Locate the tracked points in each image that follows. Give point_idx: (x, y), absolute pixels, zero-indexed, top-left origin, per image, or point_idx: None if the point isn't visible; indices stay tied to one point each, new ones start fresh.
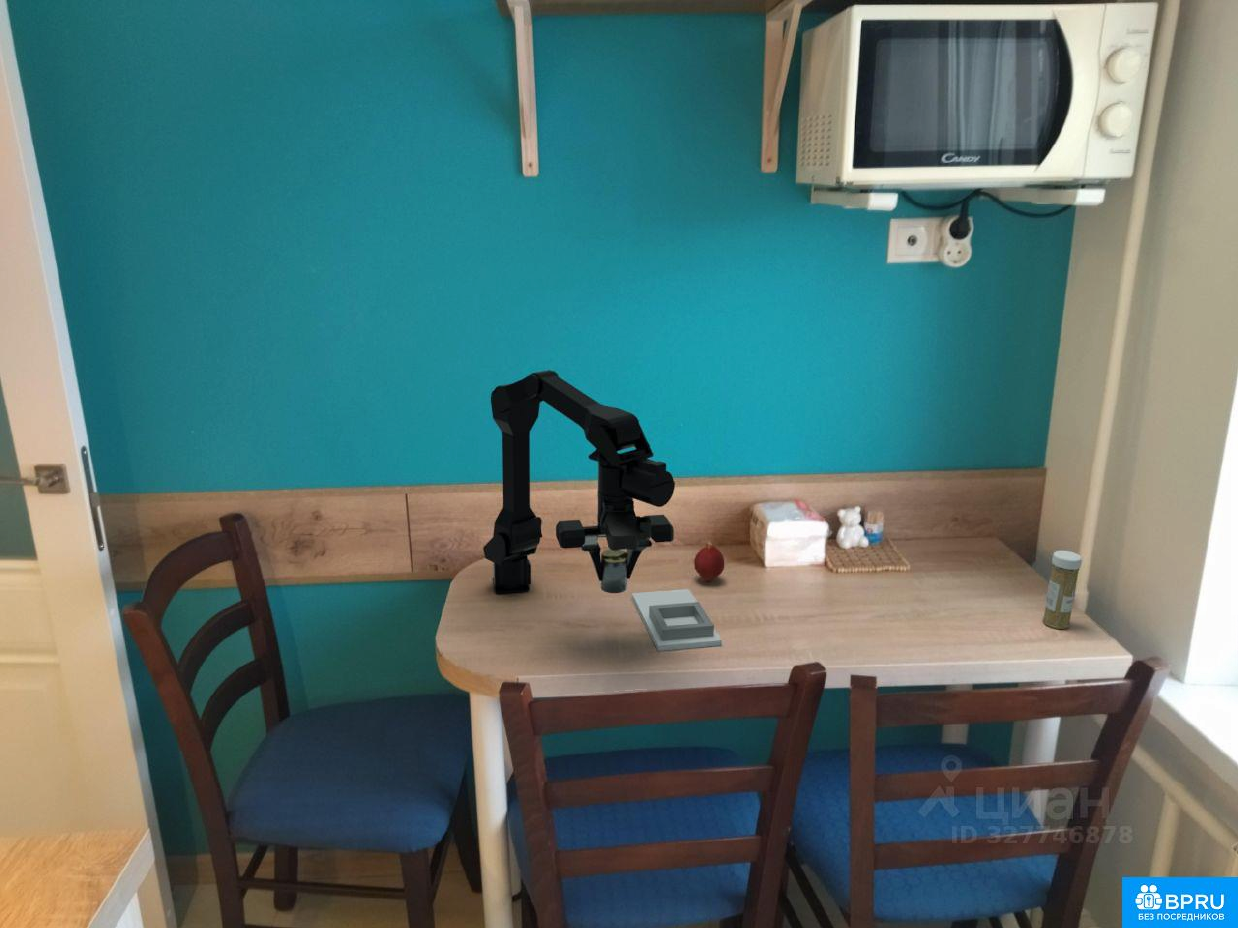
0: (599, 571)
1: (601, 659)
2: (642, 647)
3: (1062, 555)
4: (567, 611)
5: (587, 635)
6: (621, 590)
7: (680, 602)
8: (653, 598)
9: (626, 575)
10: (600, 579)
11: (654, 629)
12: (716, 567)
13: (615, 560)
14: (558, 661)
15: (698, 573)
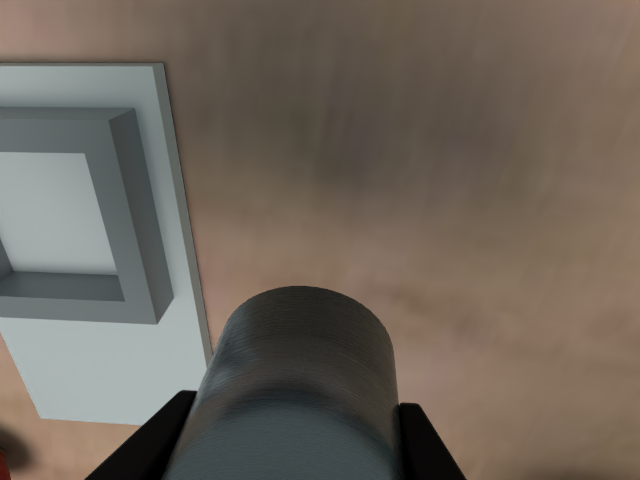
0: (437, 476)
1: (421, 32)
2: (225, 107)
3: None
4: (438, 389)
5: (420, 238)
6: (264, 299)
7: (63, 356)
8: (151, 393)
9: (193, 403)
10: (411, 409)
11: (160, 205)
12: None
13: None
14: (618, 50)
15: (4, 474)
